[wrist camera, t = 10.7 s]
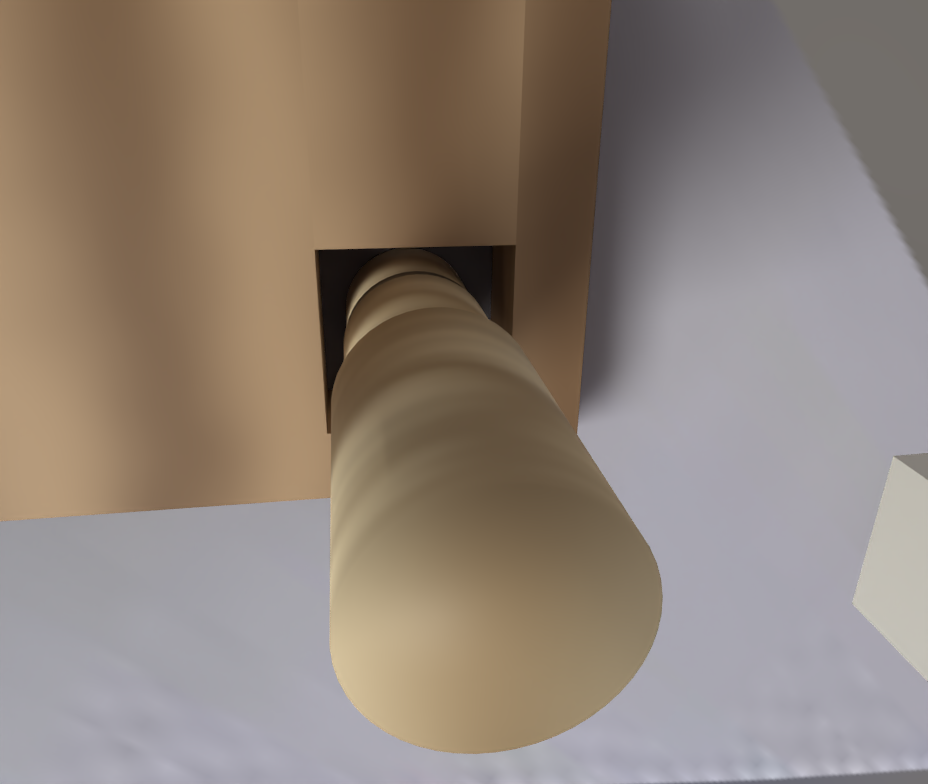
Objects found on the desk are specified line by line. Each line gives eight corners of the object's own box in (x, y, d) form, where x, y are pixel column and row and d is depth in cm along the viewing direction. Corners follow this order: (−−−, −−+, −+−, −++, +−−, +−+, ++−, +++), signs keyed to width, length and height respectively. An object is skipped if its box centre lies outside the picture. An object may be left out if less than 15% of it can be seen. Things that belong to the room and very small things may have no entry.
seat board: (25, 466, 23) (-17, 522, 20) (-100, -31, 17) (-179, -46, 15) (547, 434, 25) (573, 480, 22) (575, -12, 20) (613, -23, 17)
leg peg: (335, 380, 23) (338, 771, 10) (327, 235, 21) (317, 497, 9) (478, 373, 24) (644, 734, 11) (481, 232, 22) (683, 470, 9)
